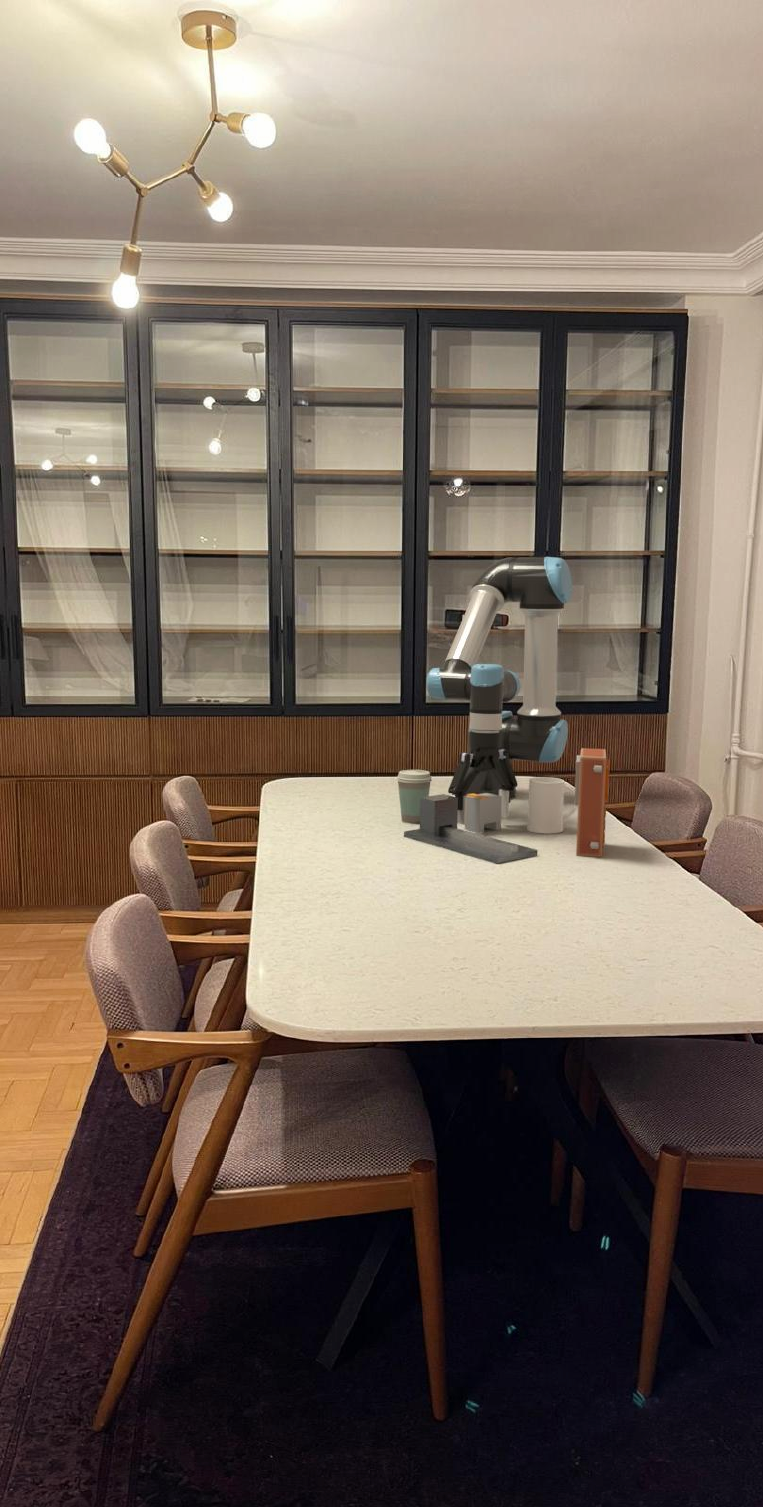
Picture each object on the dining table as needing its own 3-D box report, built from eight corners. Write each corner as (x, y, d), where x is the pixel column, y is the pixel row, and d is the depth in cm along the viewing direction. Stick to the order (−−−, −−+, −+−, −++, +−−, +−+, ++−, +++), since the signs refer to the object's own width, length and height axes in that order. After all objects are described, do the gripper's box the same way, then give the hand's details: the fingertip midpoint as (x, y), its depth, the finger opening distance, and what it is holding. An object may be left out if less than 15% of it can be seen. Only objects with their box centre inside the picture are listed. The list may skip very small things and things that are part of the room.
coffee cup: (431, 824, 250) (432, 775, 248) (396, 824, 250) (396, 774, 248) (430, 817, 258) (431, 769, 256) (396, 816, 258) (396, 769, 257)
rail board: (403, 836, 237) (404, 796, 235) (443, 829, 244) (444, 791, 243) (497, 863, 214) (498, 819, 212) (537, 855, 221) (538, 812, 220)
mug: (574, 826, 249) (576, 777, 248) (579, 834, 241) (581, 783, 239) (525, 825, 250) (526, 776, 248) (528, 833, 241) (530, 782, 240)
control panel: (604, 842, 233) (605, 858, 219) (573, 841, 235) (571, 856, 220) (609, 748, 230) (609, 758, 215) (576, 747, 231) (575, 757, 217)
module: (464, 829, 245) (465, 794, 244) (486, 825, 249) (486, 791, 248) (479, 833, 241) (480, 797, 240) (500, 829, 245) (501, 794, 244)
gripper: (511, 726, 252) (508, 812, 255) (434, 732, 237) (432, 823, 240) (534, 729, 246) (531, 817, 249) (456, 735, 231) (454, 829, 234)
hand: (482, 820), depth 245 cm, fingers open, 13 cm apart
